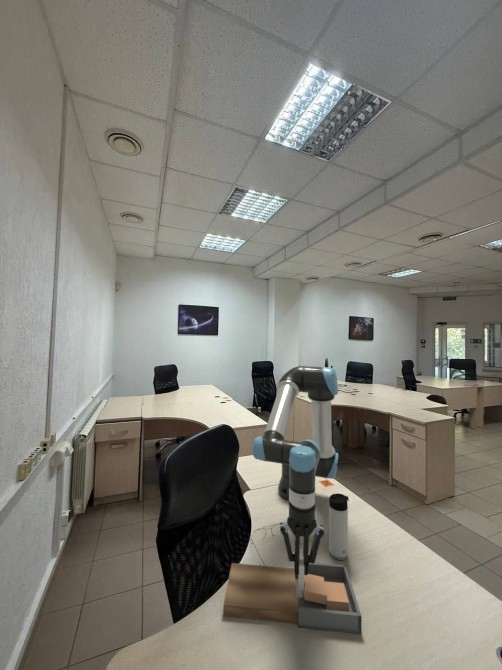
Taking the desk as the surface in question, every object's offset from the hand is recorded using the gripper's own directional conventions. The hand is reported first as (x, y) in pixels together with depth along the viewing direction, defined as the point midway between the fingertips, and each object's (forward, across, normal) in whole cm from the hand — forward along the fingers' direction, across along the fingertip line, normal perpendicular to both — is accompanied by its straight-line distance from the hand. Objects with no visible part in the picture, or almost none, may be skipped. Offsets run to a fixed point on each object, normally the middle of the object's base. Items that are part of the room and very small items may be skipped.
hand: (301, 584), depth 80 cm
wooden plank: (+4, -11, 0) cm, 12 cm away
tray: (+4, +7, 0) cm, 8 cm away
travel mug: (+4, +15, +18) cm, 24 cm away
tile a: (+2, +4, 0) cm, 4 cm away
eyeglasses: (+5, -7, +18) cm, 19 cm away
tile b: (+3, +10, 0) cm, 10 cm away
